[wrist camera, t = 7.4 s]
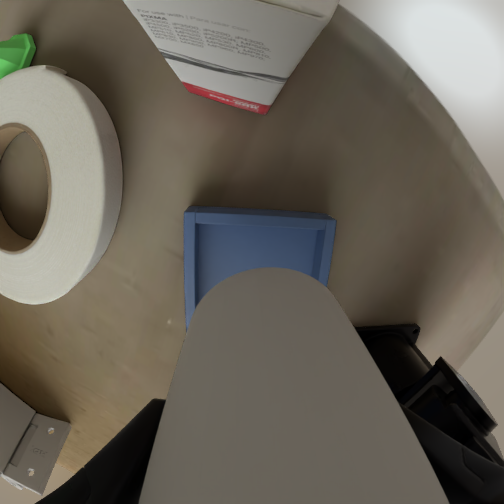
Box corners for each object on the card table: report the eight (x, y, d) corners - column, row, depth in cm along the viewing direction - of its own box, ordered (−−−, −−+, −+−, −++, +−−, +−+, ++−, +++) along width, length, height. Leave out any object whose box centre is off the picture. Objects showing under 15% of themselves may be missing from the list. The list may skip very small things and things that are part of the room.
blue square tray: (326, 213, 17) (337, 220, 15) (309, 329, 19) (315, 345, 18) (189, 205, 16) (183, 211, 15) (190, 326, 19) (186, 343, 17)
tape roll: (-61, 225, 12) (-40, 217, 15) (55, 345, 16) (72, 325, 19) (2, 39, 9) (25, 47, 12) (161, 135, 12) (174, 139, 15)
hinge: (71, 423, 22) (41, 494, 12) (72, 444, 23) (48, 506, 14) (-22, 362, 20) (-63, 414, 10) (-14, 389, 21) (-48, 438, 12)
